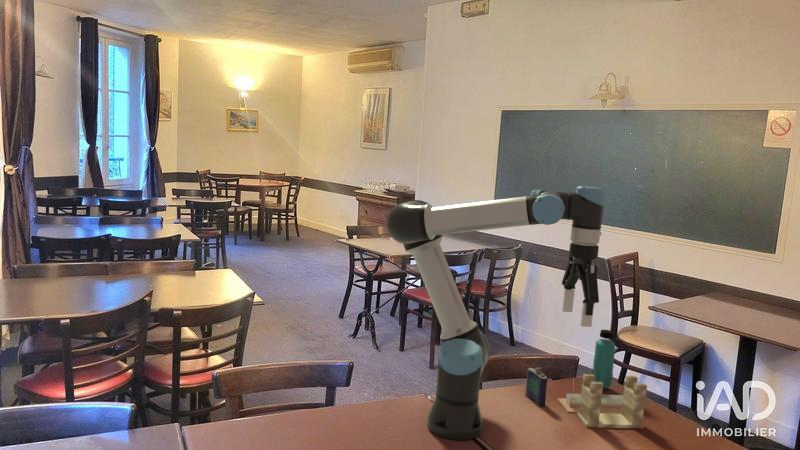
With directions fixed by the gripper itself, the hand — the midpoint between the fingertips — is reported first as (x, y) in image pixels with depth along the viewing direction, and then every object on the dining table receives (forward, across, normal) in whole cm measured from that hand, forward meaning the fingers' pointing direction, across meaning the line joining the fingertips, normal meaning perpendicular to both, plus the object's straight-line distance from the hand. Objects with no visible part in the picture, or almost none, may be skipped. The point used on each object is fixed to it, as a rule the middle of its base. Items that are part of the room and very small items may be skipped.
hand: (576, 318), depth 160 cm
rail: (+31, +14, -15) cm, 37 cm away
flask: (+32, +17, +3) cm, 36 cm away
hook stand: (+32, +4, -15) cm, 35 cm away
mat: (+32, +14, -15) cm, 38 cm away
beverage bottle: (+32, +28, -23) cm, 48 cm away
